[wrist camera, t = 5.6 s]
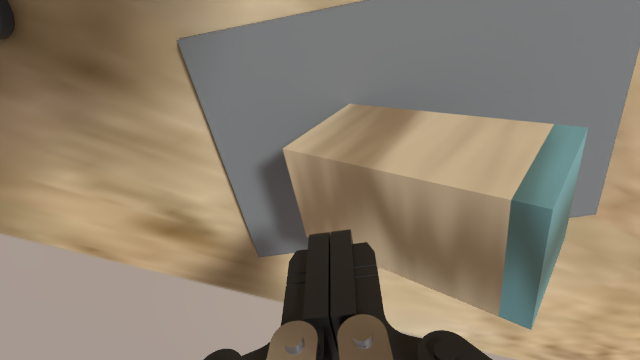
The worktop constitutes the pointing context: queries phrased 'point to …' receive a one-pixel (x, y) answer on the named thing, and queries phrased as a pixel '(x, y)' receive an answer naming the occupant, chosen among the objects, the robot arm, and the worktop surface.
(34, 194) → the worktop surface
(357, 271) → the robot arm
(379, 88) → the slate mat
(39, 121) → the worktop surface
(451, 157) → the maple block
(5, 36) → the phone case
